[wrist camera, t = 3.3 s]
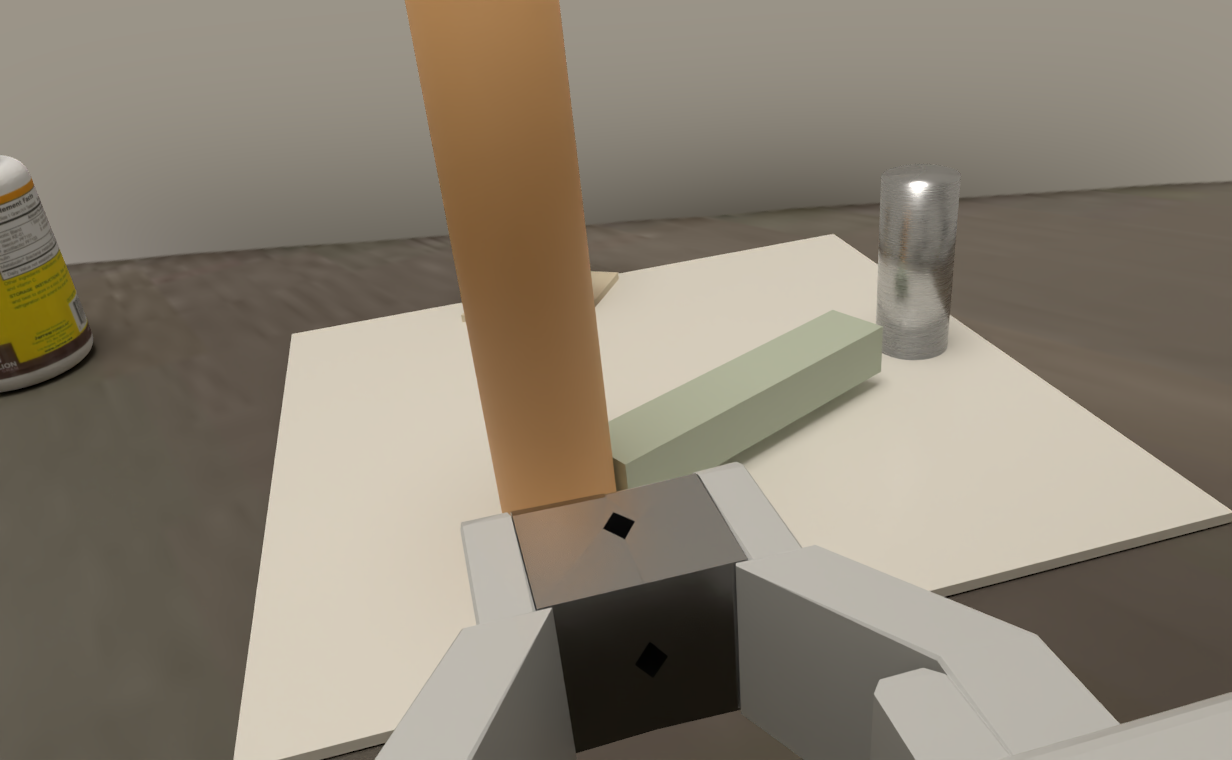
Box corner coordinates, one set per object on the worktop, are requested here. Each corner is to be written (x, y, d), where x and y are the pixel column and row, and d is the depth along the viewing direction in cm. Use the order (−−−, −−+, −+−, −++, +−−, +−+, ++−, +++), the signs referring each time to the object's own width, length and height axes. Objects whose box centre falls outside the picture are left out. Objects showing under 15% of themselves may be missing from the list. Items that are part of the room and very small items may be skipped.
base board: (833, 240, 43) (833, 234, 43) (1231, 521, 24) (1233, 512, 23) (294, 340, 39) (292, 334, 39) (235, 781, 19) (231, 771, 19)
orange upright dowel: (820, 348, 32) (824, -355, 23) (894, 376, 30) (931, -387, 21) (484, 525, 25) (300, -385, 16) (549, 578, 23) (380, -439, 14)
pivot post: (924, 324, 34) (934, 160, 31) (961, 351, 32) (976, 178, 29) (862, 337, 34) (867, 171, 31) (896, 365, 32) (905, 191, 29)
